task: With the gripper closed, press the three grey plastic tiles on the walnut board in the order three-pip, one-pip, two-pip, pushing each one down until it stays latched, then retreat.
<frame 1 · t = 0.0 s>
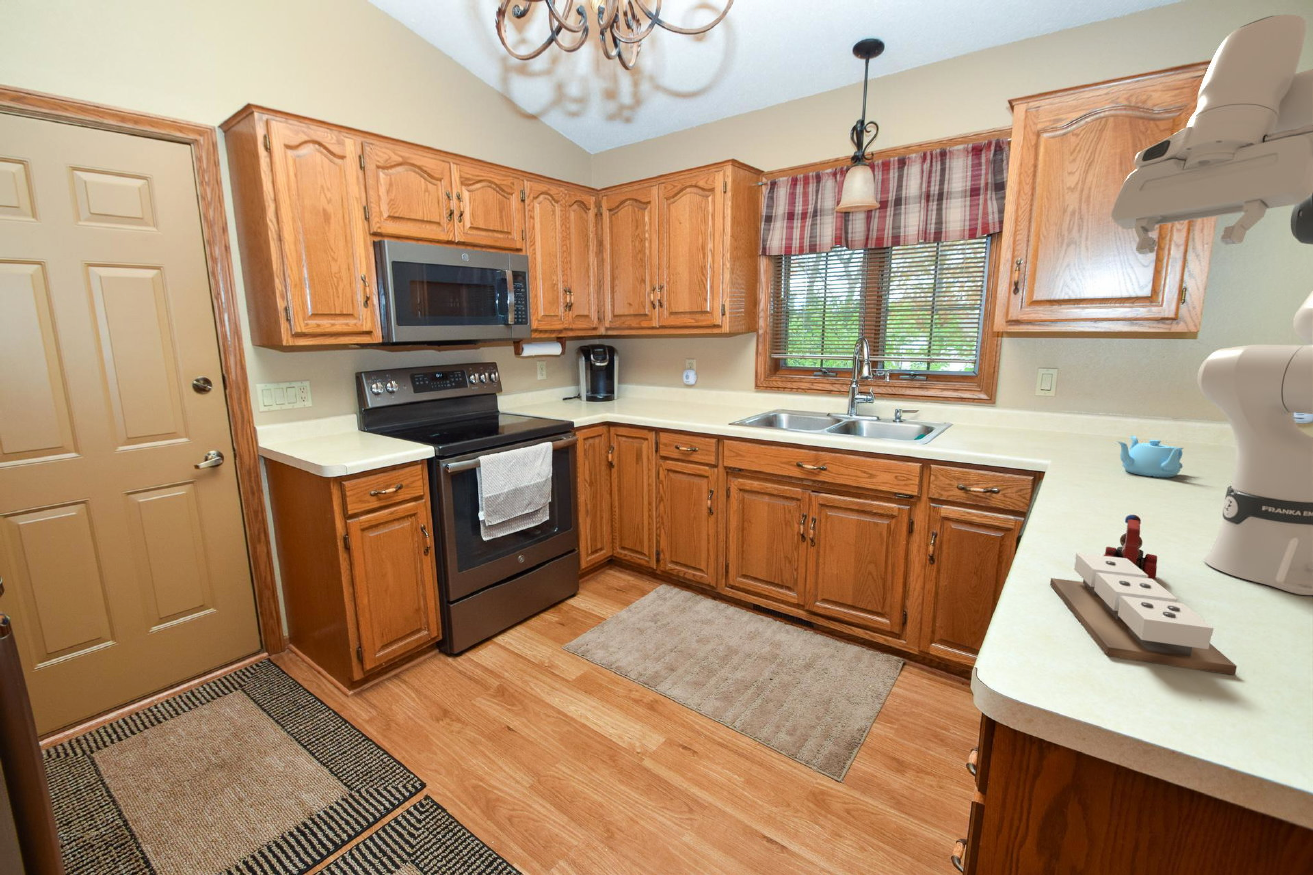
hand: (1185, 247, 76), 52 cm above the countertop, tool tilted 20°, fingers open, 8 cm apart
one-pip tile: (1109, 571, 87), point 4 cm above the countertop, slide at 0.0 cm
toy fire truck: (1126, 578, 96), on the countertop
two-pip tile: (1133, 593, 80), point 4 cm above the countertop, slide at 0.0 cm
three-pip tile: (1162, 620, 73), point 4 cm above the countertop, slide at 0.0 cm
walnut board: (1128, 623, 81), on the countertop
teapot: (1145, 474, 169), on the countertop
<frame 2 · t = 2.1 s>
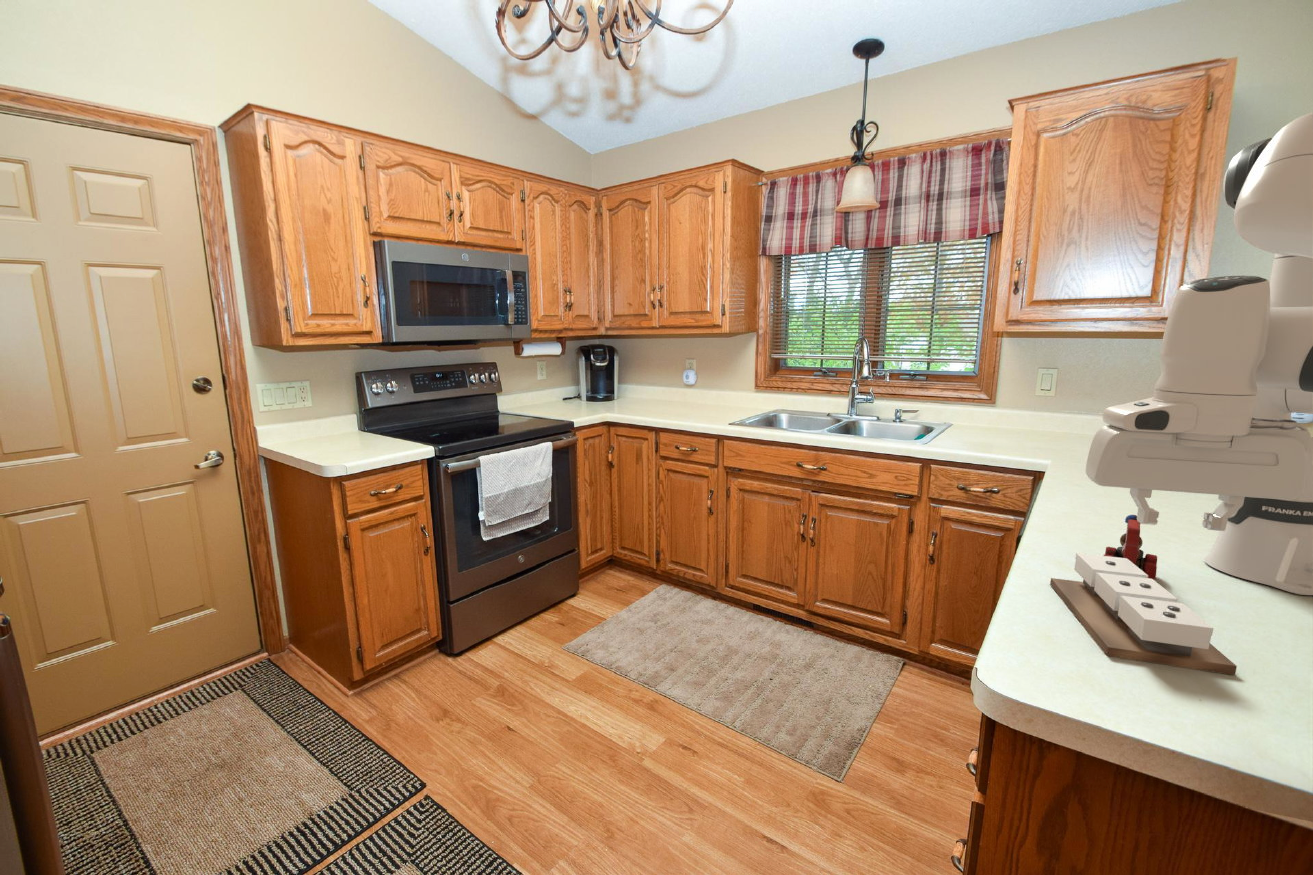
hand: (1179, 526, 70), 17 cm above the countertop, tool pointing down, fingers open, 5 cm apart
nothing on the countertop moved.
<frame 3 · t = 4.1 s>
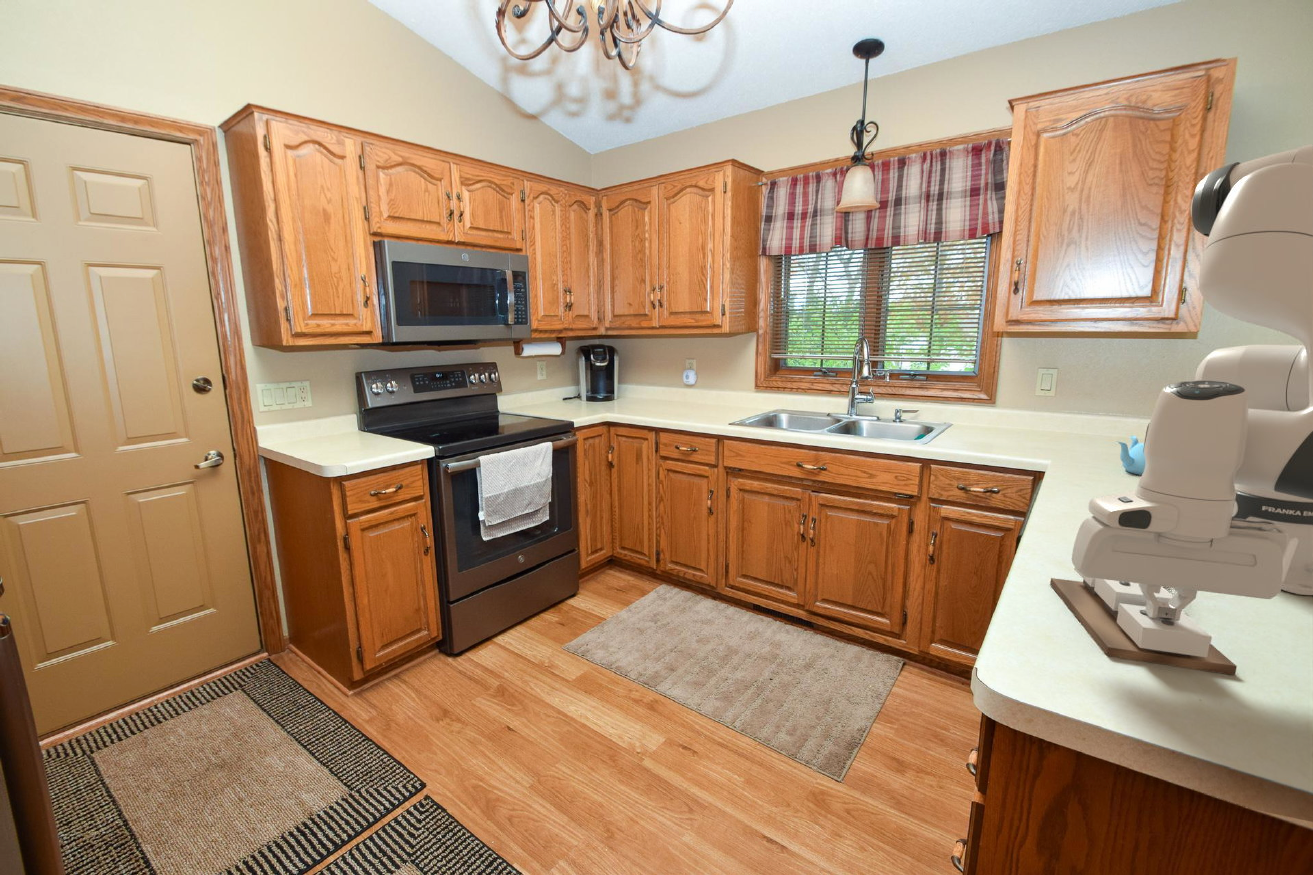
hand: (1161, 617, 72), 5 cm above the countertop, tool pointing down, fingers closed, pressing on three-pip tile
three-pip tile: (1161, 628, 73), point 3 cm above the countertop, slide at 1.1 cm, touching gripper
everything else where it was.
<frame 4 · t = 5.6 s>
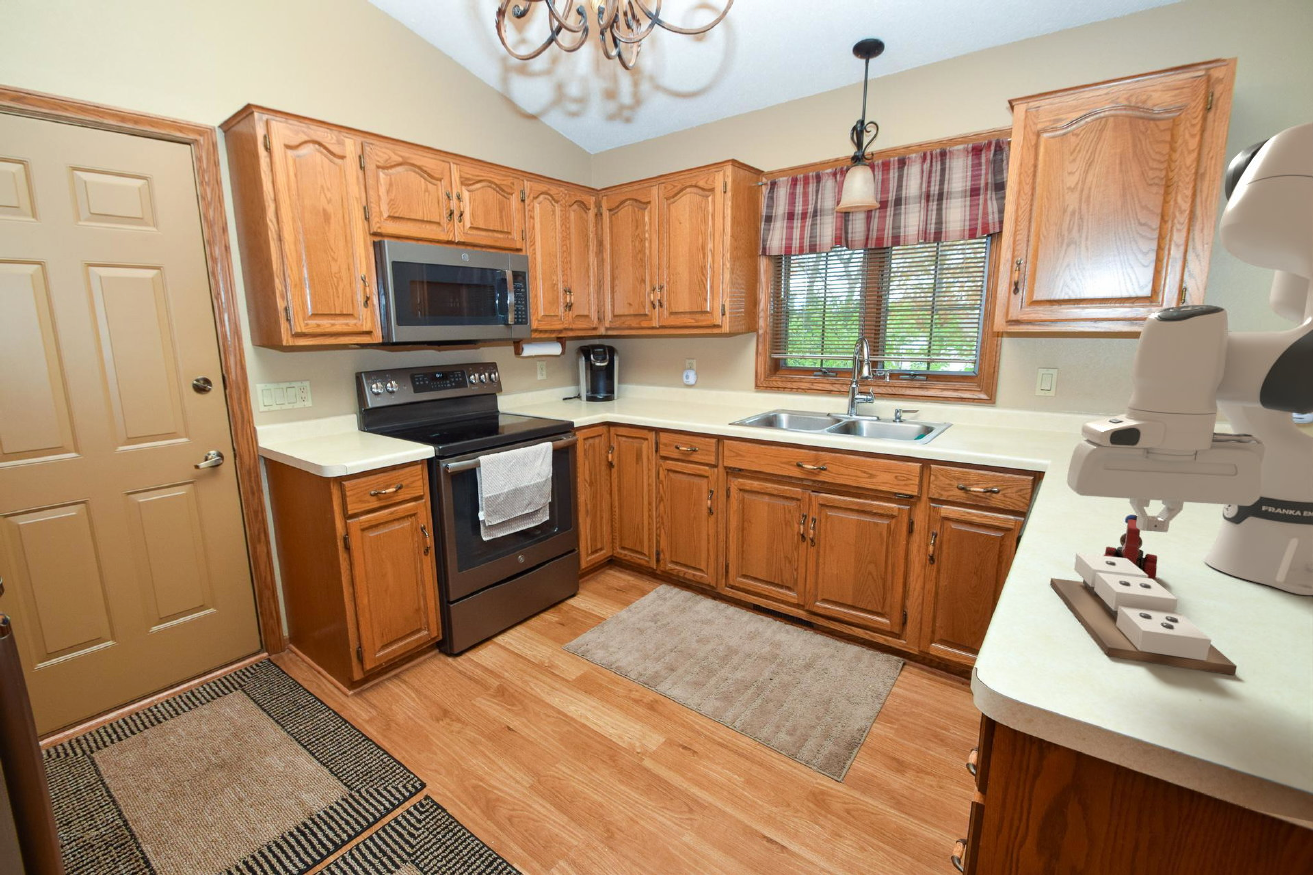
hand: (1151, 530, 78), 14 cm above the countertop, tool pointing down, fingers closed
three-pip tile: (1160, 631, 73), point 3 cm above the countertop, slide at 1.5 cm
everything else where it was.
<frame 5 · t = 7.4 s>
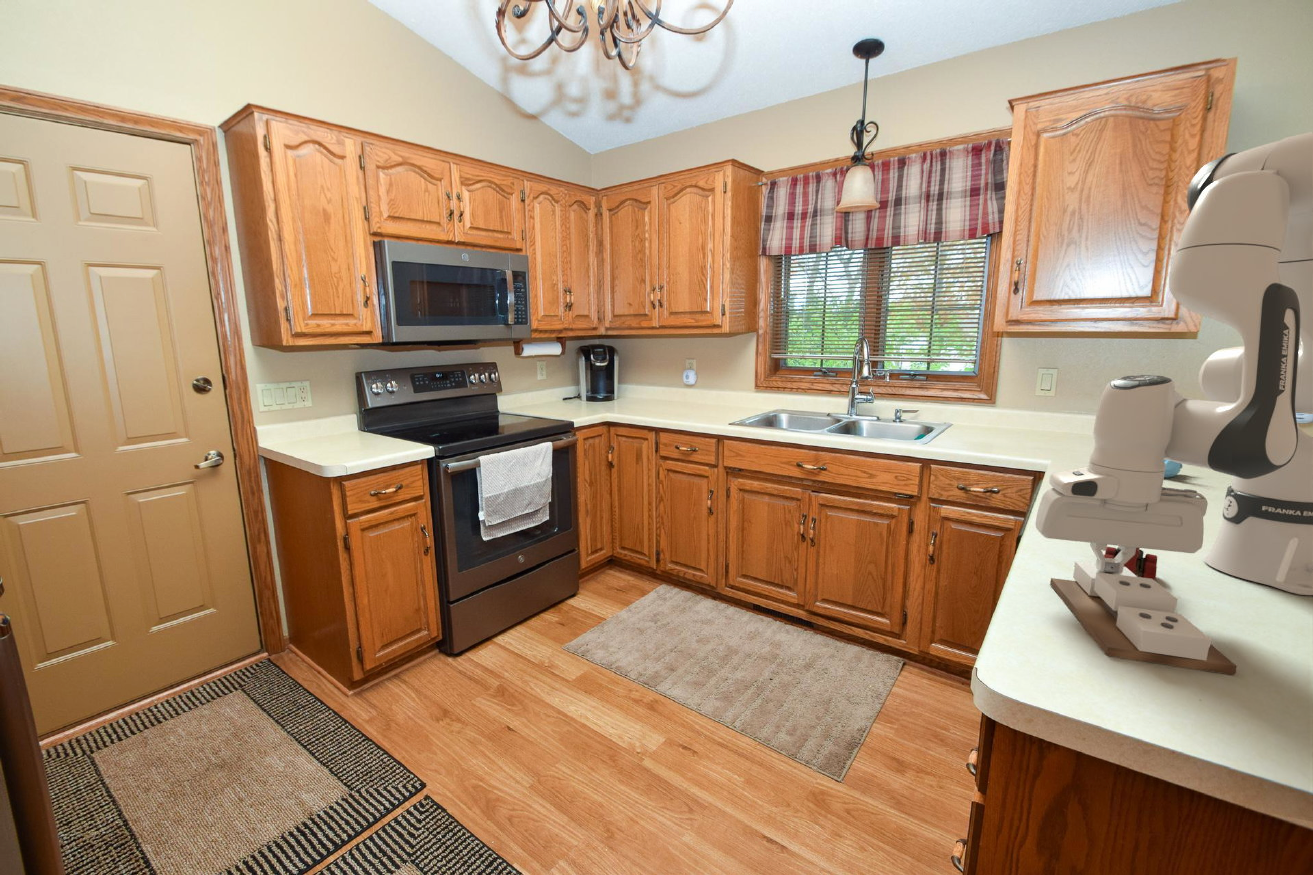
hand: (1108, 571, 87), 5 cm above the countertop, tool pointing down, fingers closed, pressing on one-pip tile
one-pip tile: (1107, 580, 88), point 3 cm above the countertop, slide at 1.4 cm, touching gripper
everything else where it was.
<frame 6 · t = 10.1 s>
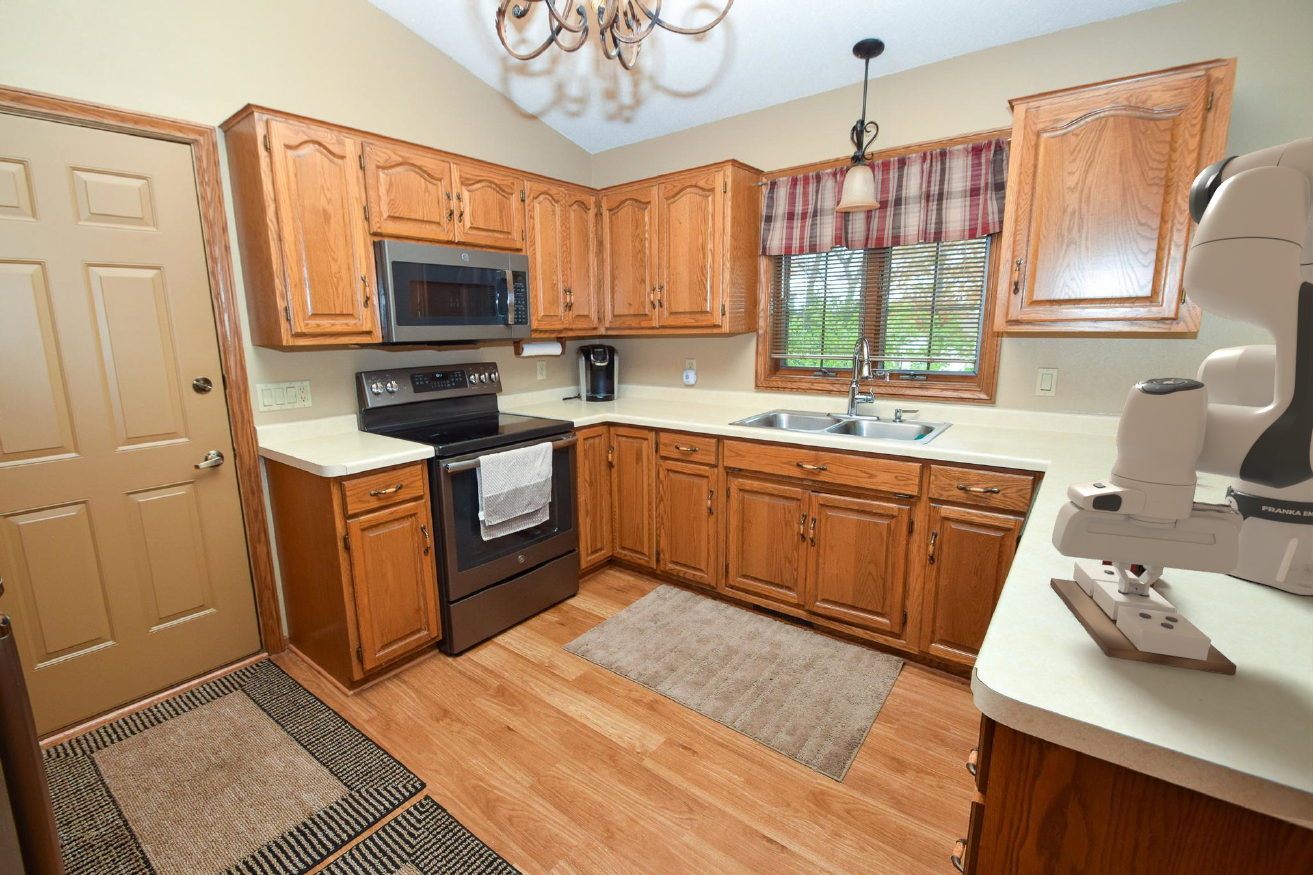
hand: (1132, 592, 80), 5 cm above the countertop, tool pointing down, fingers closed, pressing on two-pip tile
one-pip tile: (1107, 580, 88), point 3 cm above the countertop, slide at 1.5 cm
two-pip tile: (1131, 602, 80), point 3 cm above the countertop, slide at 1.3 cm, touching gripper
everything else where it was.
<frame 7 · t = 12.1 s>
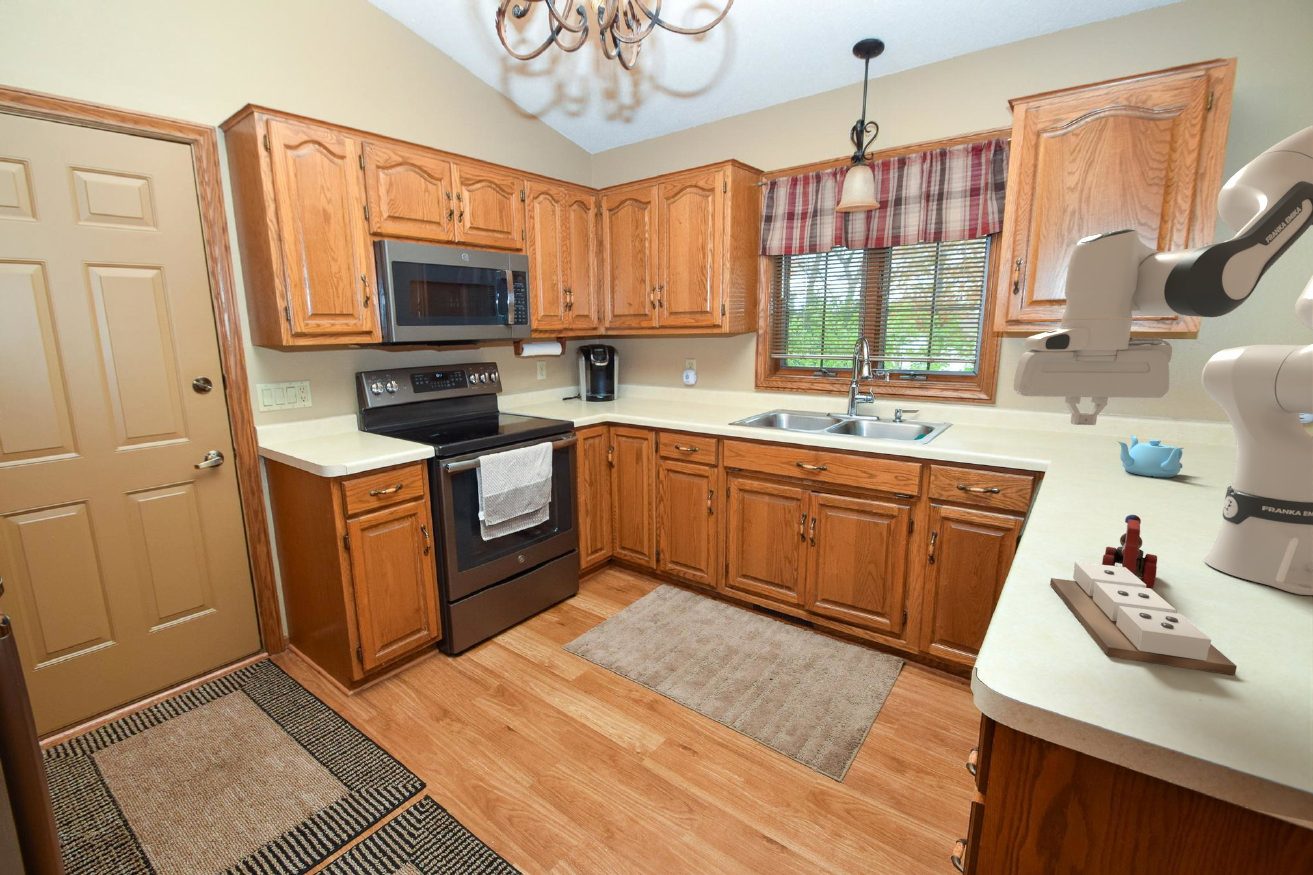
hand: (1082, 424, 92), 26 cm above the countertop, tool pointing down, fingers closed
two-pip tile: (1131, 603, 80), point 3 cm above the countertop, slide at 1.5 cm
everything else where it was.
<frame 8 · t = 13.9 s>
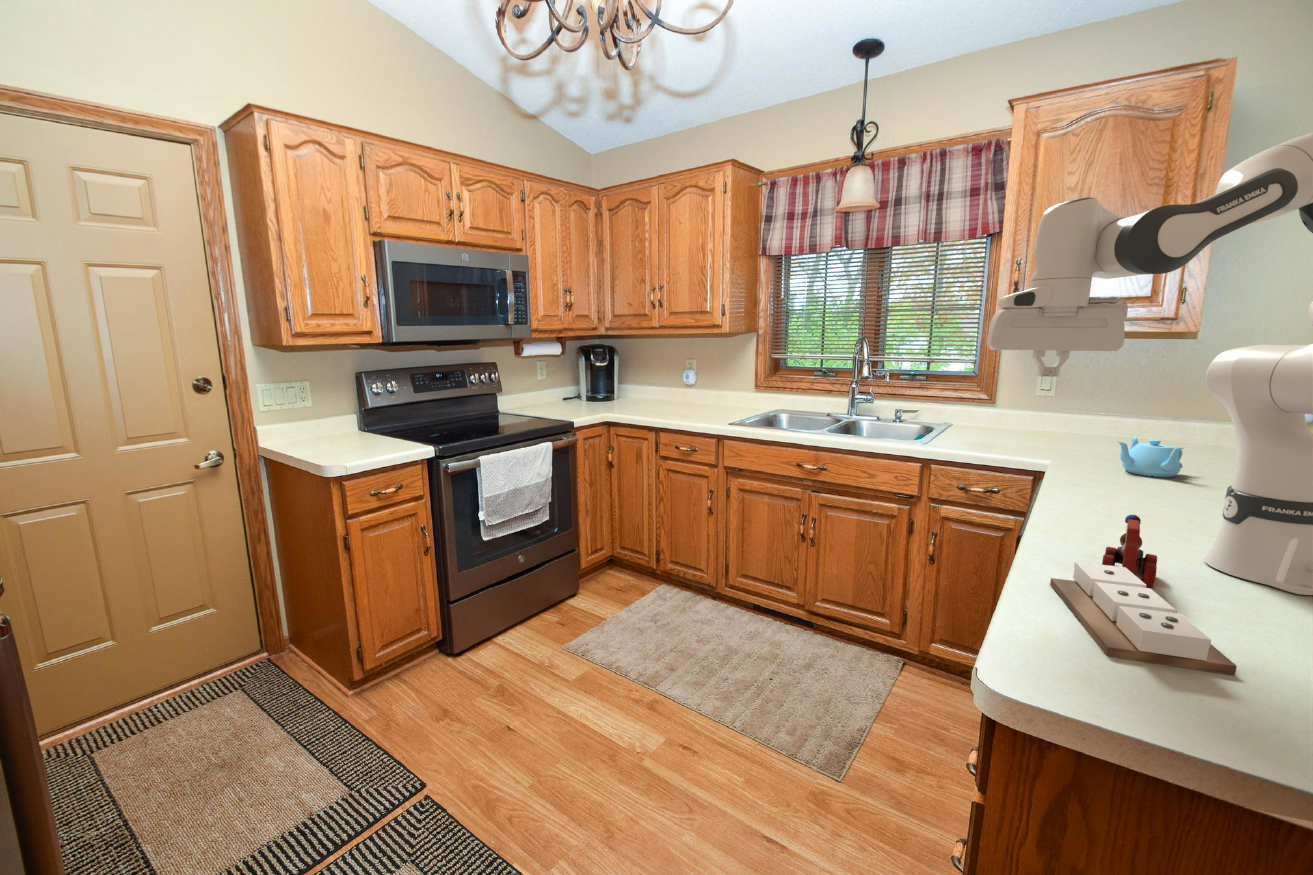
hand: (1047, 376, 102), 33 cm above the countertop, tool pointing down, fingers closed
nothing on the countertop moved.
at the end: three-pip tile slide at 1.5 cm; one-pip tile slide at 1.5 cm; two-pip tile slide at 1.5 cm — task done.
